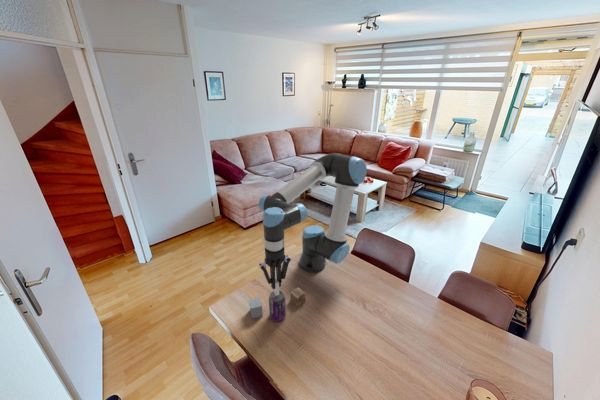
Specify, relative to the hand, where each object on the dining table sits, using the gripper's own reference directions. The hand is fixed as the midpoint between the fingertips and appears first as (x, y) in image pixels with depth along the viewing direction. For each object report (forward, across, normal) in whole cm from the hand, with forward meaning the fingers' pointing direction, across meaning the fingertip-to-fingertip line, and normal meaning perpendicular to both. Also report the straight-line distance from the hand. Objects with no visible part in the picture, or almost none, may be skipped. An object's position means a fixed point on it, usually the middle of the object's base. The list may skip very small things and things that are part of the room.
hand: (276, 293), depth 108 cm
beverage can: (+14, 0, 0) cm, 14 cm away
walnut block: (+14, -12, -4) cm, 19 cm away
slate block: (+14, +8, -6) cm, 17 cm away
